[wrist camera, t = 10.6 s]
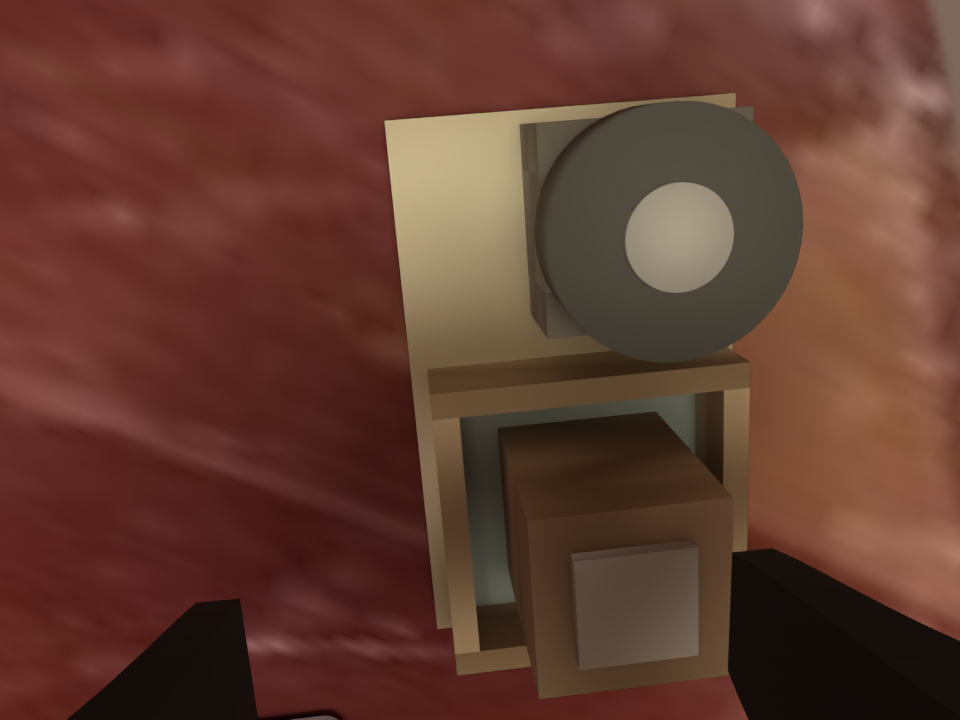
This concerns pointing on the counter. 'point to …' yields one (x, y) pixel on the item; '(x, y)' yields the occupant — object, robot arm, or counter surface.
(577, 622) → the wooden block
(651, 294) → the wheel
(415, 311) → the chassis board
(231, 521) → the counter surface
